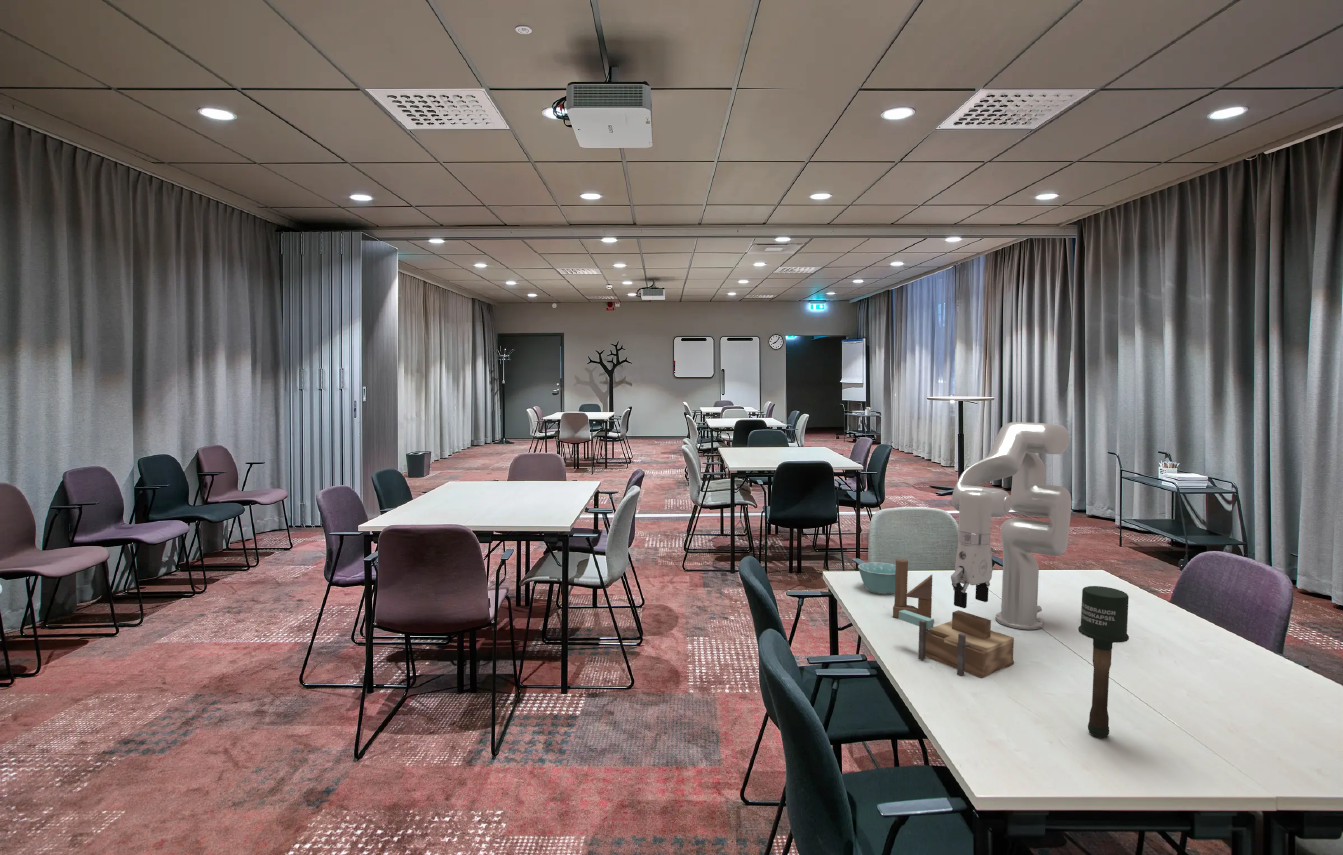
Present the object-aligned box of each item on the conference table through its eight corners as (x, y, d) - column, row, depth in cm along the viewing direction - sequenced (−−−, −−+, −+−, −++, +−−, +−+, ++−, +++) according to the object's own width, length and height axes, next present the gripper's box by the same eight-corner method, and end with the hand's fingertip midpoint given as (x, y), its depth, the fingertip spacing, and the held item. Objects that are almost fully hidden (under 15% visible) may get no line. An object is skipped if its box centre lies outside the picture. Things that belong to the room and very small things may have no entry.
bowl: (854, 583, 239) (855, 560, 238) (899, 585, 237) (900, 562, 236) (861, 596, 224) (861, 572, 223) (909, 599, 221) (910, 574, 221)
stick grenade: (1064, 725, 140) (1070, 585, 138) (1102, 723, 140) (1109, 584, 138) (1093, 746, 131) (1100, 598, 129) (1134, 745, 132) (1141, 597, 130)
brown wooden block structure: (930, 623, 199) (932, 564, 197) (892, 618, 203) (894, 560, 202) (931, 619, 202) (933, 561, 201) (894, 614, 207) (895, 557, 205)
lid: (956, 627, 183) (957, 603, 182) (1013, 646, 170) (1014, 620, 169) (922, 639, 174) (923, 613, 174) (980, 660, 161) (981, 632, 161)
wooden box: (956, 643, 183) (957, 607, 183) (1014, 663, 170) (1015, 625, 170) (916, 658, 173) (918, 620, 173) (974, 681, 160) (976, 640, 159)
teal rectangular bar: (904, 617, 182) (904, 609, 181) (933, 627, 174) (933, 619, 174) (898, 619, 180) (898, 611, 180) (927, 629, 173) (928, 621, 173)
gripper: (968, 544, 163) (965, 613, 164) (1006, 537, 173) (1003, 602, 173) (940, 539, 169) (938, 605, 170) (978, 532, 179) (976, 594, 180)
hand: (971, 603), depth 172 cm, fingers open, 9 cm apart
